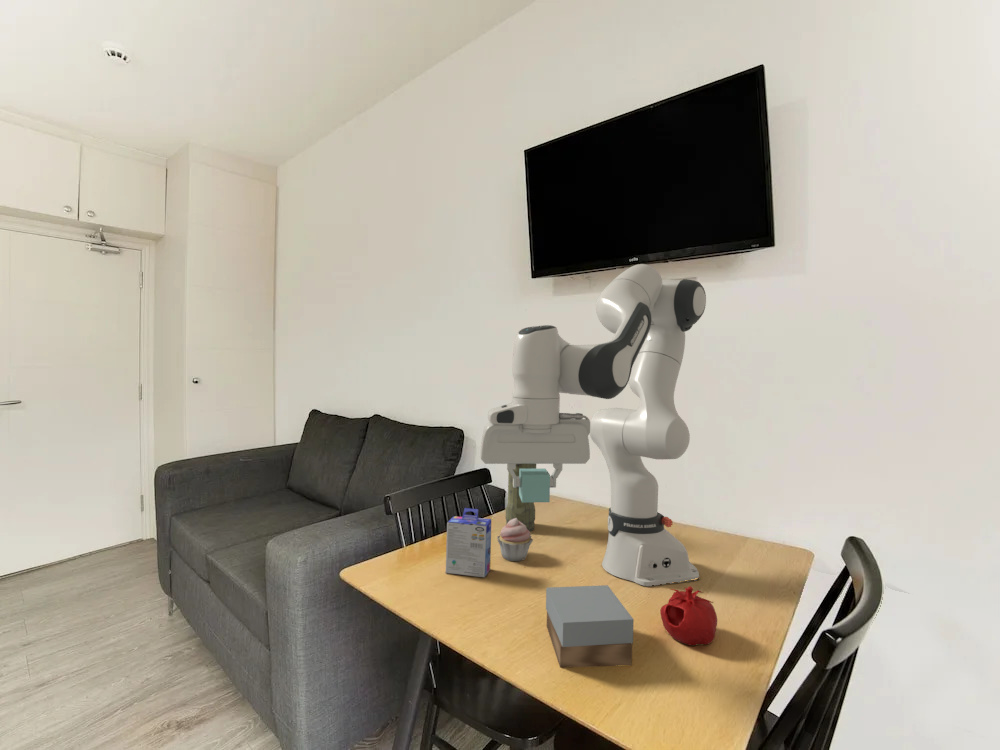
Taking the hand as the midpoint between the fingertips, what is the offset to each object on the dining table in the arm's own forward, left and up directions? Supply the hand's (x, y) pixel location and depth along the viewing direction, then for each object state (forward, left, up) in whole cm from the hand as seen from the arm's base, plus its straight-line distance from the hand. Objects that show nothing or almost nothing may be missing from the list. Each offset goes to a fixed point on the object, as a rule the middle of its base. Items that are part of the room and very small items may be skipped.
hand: (534, 486), depth 86 cm
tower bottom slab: (-9, +6, -27) cm, 29 cm away
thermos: (-5, -54, -27) cm, 60 cm away
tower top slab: (-9, +5, -23) cm, 25 cm away
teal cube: (0, 0, -2) cm, 2 cm away
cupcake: (-1, -32, -27) cm, 42 cm away
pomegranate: (-29, +4, -27) cm, 40 cm away
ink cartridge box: (+11, -24, -27) cm, 38 cm away
